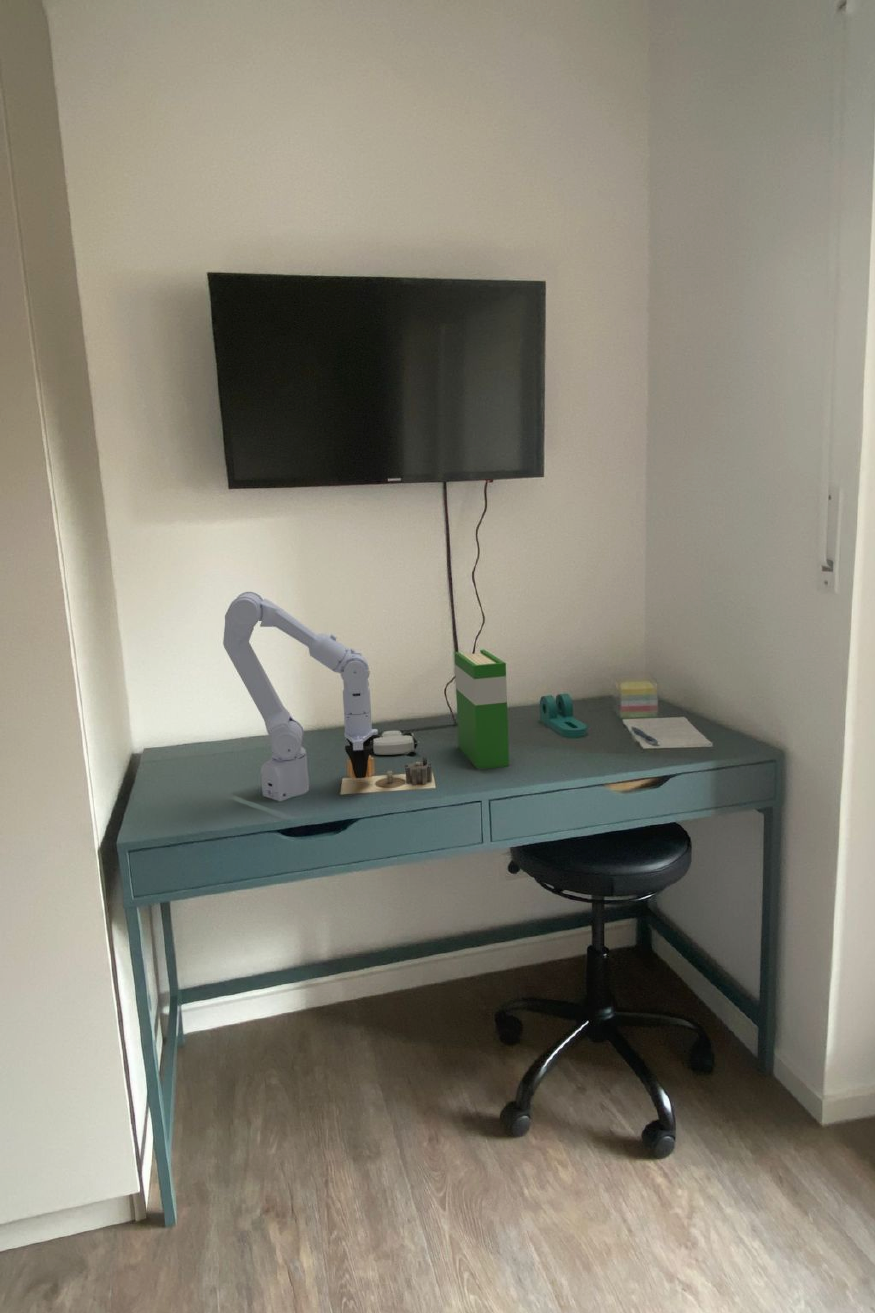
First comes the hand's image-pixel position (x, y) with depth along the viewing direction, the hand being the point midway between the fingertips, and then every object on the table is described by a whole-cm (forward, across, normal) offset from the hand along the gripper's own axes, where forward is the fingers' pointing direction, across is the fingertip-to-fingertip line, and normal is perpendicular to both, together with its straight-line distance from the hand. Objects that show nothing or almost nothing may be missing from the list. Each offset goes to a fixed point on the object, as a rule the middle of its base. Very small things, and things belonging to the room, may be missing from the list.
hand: (361, 772), depth 176 cm
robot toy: (+4, +26, -7) cm, 27 cm away
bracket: (+4, +35, -52) cm, 63 cm away
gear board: (+4, 0, -6) cm, 7 cm away
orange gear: (0, 0, 0) cm, 0 cm away
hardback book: (+4, +17, -28) cm, 33 cm away
